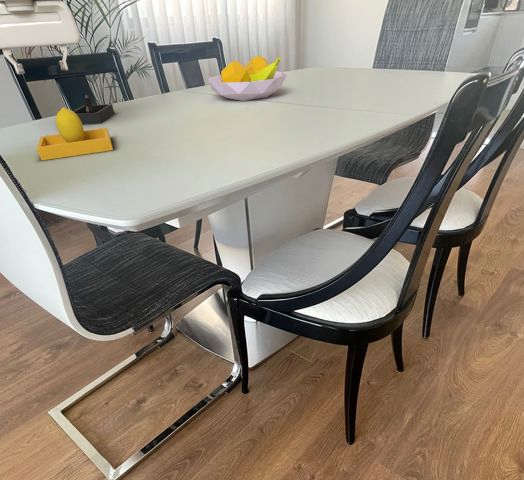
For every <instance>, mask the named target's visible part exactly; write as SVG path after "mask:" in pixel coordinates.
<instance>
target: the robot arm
mask: <svg viewBox="0 0 524 480" xmlns="http://www.w3.org/2000/svg"><path fill="white" fill-rule="evenodd" d="M77 25H78V24H77V23H76V19H75V17H74V14H73V12H72V10H71V8H70V7H69V6H68V4H67V3H66V2H65V1H63V0H0V50H2V53H3V55H4V57H5V58H6V59H7V60H8V62H9V63H11V65H12V66H13V67H14V69H15V73H16V74H17V75H24V74H26V72H25V69H24V66H23V64H22V63H18V62H17V61H16V60H15V59H14V58H13V57H12V55H13V52H12V49H21V48H34V47H47V46H48V47H49V46H59V49H60V51H61V52H63V53H62V54H63V55H62V60H58V64H59V66H60V70H61V71H69V67H68V64H67V58H68V51H69V49H68V46H67V45H76V44H77V45H78V44H80V42H81V40H82V37H81V33H80V31H79V28H78V26H77Z"/></svg>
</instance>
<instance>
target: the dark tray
mask: <svg viewBox="0 0 524 480" xmlns="http://www.w3.org/2000/svg"><path fill="white" fill-rule="evenodd" d="M92 107H93V110H94V113H87V111H86V105H81V106H80V107H78V108H76V109H74V110H72V111H73V112H74V113H76V114H77V116H78V117H79V119H80V120H81V122H82V125H92V124H93V125H95V124H103V122H104V121H106V120H108V119H109V118H111V117H112V116H113V115H115V114H116V113H115V110H114V105H113V104H112V103H109V104H108V103H107V104H92Z"/></svg>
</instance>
